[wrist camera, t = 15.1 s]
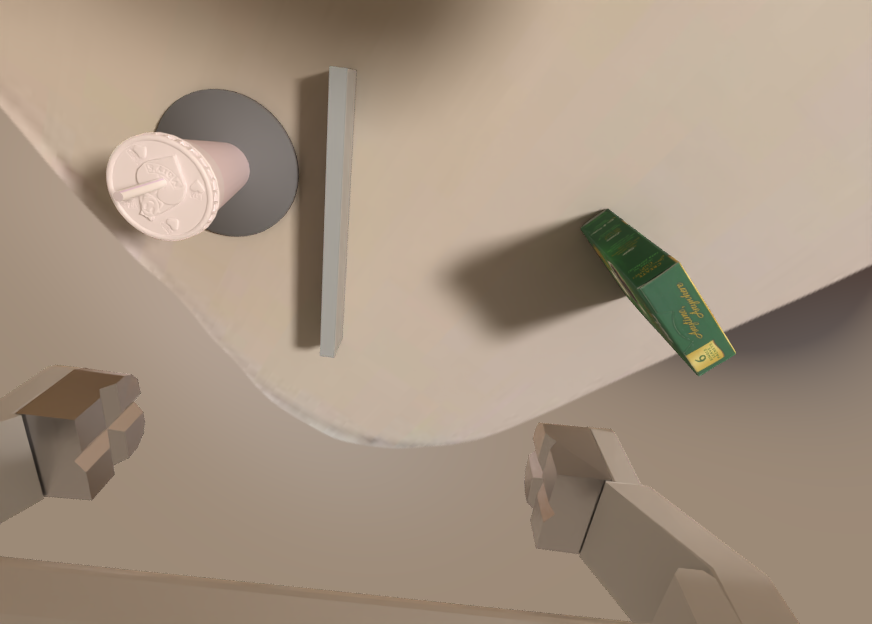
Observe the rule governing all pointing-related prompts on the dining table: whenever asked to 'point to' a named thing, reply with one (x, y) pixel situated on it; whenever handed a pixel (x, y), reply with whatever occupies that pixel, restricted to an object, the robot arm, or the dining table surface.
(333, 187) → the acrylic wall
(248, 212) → the pad
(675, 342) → the coffee box
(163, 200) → the smoothie
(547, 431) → the robot arm
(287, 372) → the dining table surface
